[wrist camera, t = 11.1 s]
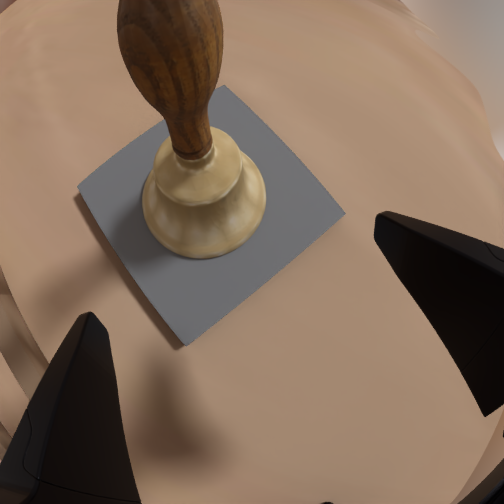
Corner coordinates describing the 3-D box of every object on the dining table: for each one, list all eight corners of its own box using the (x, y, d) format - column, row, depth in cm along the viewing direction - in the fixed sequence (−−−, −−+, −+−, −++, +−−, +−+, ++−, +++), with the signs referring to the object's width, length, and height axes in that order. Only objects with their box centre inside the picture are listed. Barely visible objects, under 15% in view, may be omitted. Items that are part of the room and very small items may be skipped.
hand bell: (276, 248, 18) (480, 74, 2) (148, 267, 17) (-91, 172, 1) (254, 136, 19) (306, -79, 3) (141, 152, 18) (49, -42, 2)
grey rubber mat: (340, 217, 20) (345, 213, 19) (187, 343, 17) (185, 346, 16) (224, 92, 20) (224, 84, 19) (82, 190, 18) (76, 186, 17)
